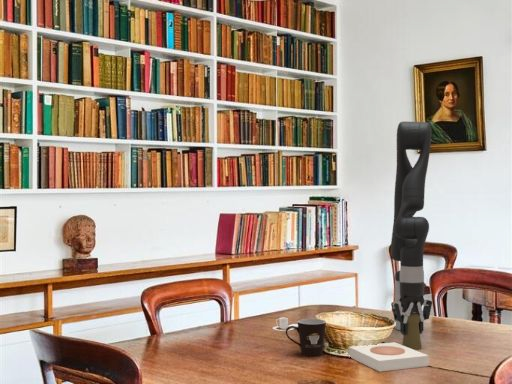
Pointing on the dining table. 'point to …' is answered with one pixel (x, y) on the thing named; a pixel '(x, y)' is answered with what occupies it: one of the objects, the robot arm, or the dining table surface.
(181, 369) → the dining table surface
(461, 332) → the dining table surface
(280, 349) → the dining table surface
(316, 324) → the coffee mug
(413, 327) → the brown pawn
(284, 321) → the teacup and saucer
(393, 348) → the plinth
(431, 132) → the robot arm
